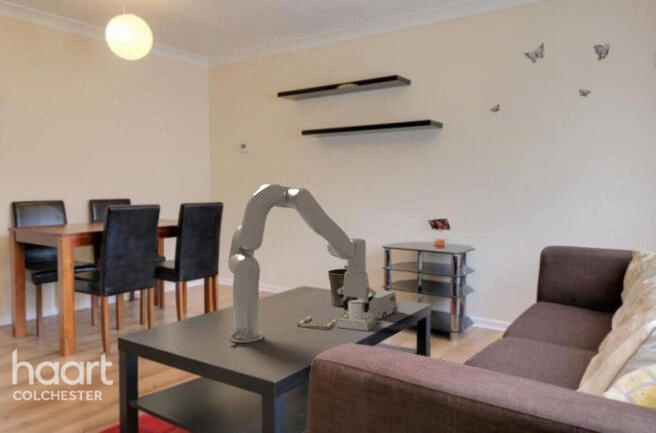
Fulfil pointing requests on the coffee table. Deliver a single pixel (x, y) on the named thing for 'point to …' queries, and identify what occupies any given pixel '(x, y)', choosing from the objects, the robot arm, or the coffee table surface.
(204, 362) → the coffee table surface
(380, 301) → the toy vehicle
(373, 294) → the robot arm
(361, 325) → the plate
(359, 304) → the white cup
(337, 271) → the plant pot
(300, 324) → the cradle
